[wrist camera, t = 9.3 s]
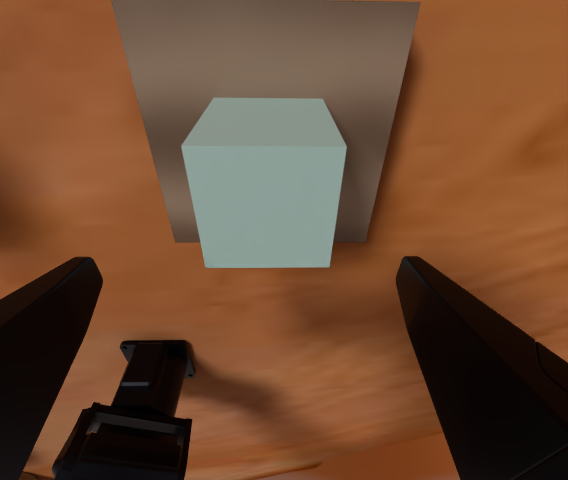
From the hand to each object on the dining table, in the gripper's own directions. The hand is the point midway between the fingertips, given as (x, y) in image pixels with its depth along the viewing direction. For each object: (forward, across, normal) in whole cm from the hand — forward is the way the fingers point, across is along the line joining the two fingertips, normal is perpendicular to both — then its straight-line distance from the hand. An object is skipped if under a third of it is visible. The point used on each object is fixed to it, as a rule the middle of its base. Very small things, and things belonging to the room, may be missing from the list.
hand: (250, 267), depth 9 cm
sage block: (+8, 0, 0) cm, 8 cm away
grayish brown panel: (+11, 0, 0) cm, 11 cm away
